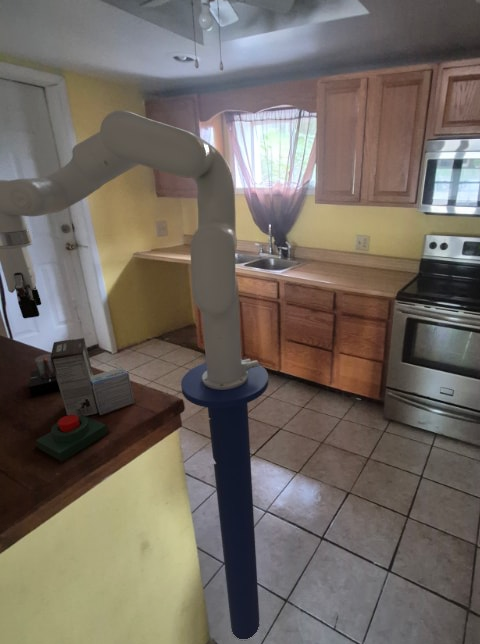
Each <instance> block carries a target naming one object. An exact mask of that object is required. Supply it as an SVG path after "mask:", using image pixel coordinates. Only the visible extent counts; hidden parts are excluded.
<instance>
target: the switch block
mask: <svg viewBox="0 0 480 644" xmlns="http://www.w3.org/2000/svg"><path fill="white" fill-rule="evenodd" d="M78 419H79V422H80V425H79V427H78V428H76V429H74V430H71V431H68V432H62V431H60V428H59V425H58V421H57V422H56V423H55V424H53V426H51V429H50V430H51V431H50V432H48V433H46V434H44V435H43V436H41V437H39V438H37V439H35V443H36V445H37V448H38V450H40V451H42V452H44V453H45V454H47V455H49V456H50V457H53V458H54V459H56V460H58V461H60V462H62V463H64V461H66V460H68V459H69V458H71V457H73V456H75V454H77V453H79V452H81V451H82V450H84V449H85V448H87V447H89V446H90V445H91V444H93V443H95V442H96V441H98V440H100V439H101V438H102V437H104V436H106V435H107V434H108V429H107V426H106V424H105V423H102V422H100V421H98V420H95V419H93V418H91V417H89V416H84V415H81V416H78Z"/></svg>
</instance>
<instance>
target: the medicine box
mask: <svg viewBox="0 0 480 644" xmlns="http://www.w3.org/2000/svg"><path fill="white" fill-rule="evenodd" d="M91 385H92V389H93V393H94V397H95V401H96V405H97V408H98V414H99V416H103V415H105V414H108V413H110V412H113V411H116V410H119V409H121V408H124V407H127V406H130V405H133V404H135V399H134V394H133V388H132V384H131V378H130V373H129V372H128V371H127V370H126V369H125V368H124V367H123V366H121V367H117V368H114V369H110V370H107V371H104V372H100V373H96V374H93V376H91Z"/></svg>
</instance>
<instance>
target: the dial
mask: <svg viewBox="0 0 480 644" xmlns="http://www.w3.org/2000/svg"><path fill="white" fill-rule="evenodd" d="M50 357H51V353H46V354H41V355H39V356H37V357H35V359H34V362H35V365H36V367H37V370H38V371H39V374H40V377H41V378H44V379H47V378H52V377H55V376H56V374H55V371H54V368H53V364H52V361H51V358H50Z"/></svg>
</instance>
